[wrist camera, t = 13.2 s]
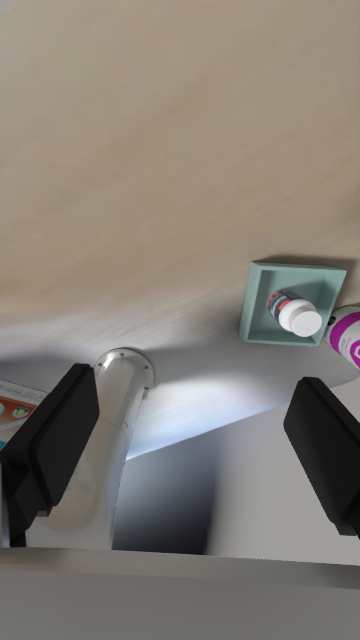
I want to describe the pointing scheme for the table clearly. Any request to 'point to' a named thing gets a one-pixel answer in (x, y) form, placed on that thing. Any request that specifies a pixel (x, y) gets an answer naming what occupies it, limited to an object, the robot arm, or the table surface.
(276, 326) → the bin
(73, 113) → the table surface
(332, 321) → the supplement can
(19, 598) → the robot arm
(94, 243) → the table surface
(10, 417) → the box
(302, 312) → the pill bottle
